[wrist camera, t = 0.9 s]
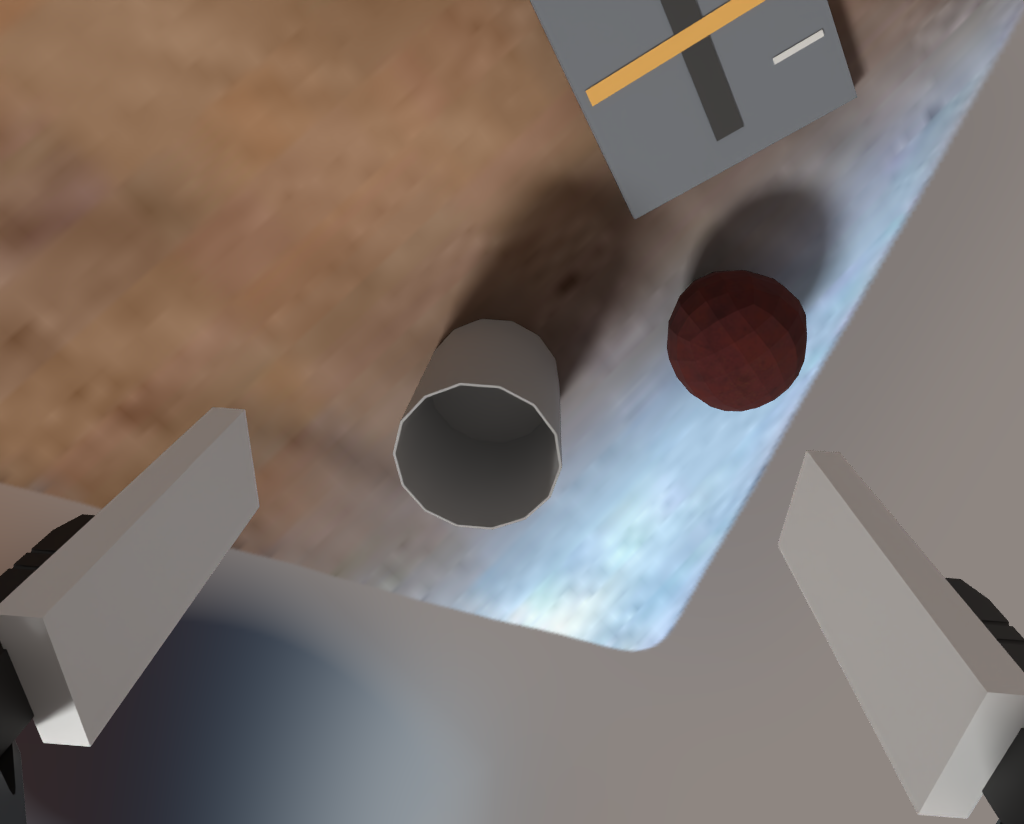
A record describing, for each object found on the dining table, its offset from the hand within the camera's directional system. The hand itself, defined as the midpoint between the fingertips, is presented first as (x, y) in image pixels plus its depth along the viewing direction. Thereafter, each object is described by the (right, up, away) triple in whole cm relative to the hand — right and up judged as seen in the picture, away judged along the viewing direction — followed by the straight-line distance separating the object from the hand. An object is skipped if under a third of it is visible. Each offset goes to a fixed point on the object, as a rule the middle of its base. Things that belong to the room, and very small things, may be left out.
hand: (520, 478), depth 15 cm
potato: (+12, +7, +23) cm, 27 cm away
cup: (-1, +4, +25) cm, 26 cm away
